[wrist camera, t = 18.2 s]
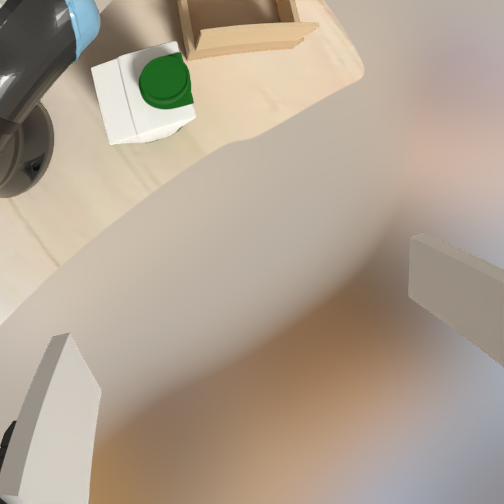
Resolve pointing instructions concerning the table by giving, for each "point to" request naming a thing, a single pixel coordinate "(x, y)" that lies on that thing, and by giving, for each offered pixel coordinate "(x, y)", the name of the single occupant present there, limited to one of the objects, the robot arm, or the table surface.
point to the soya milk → (144, 94)
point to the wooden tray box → (245, 34)
